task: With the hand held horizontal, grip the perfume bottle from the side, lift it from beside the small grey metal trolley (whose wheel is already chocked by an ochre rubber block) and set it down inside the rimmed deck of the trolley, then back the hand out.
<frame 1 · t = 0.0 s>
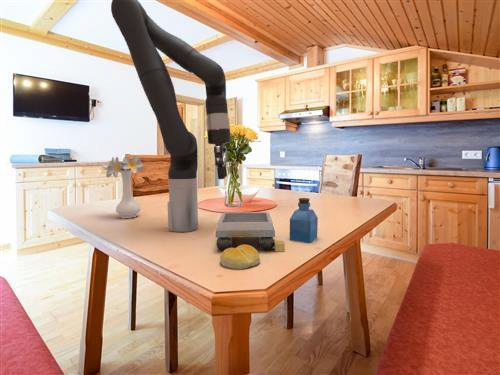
hand: (222, 178, 96), 17 cm above the table, tool pointing down, fingers open, 8 cm apart
flower vase: (126, 217, 117), on the table
bread roll: (240, 263, 67), on the table
perfume bottle: (303, 239, 85), on the table
trolley: (245, 243, 81), on the table
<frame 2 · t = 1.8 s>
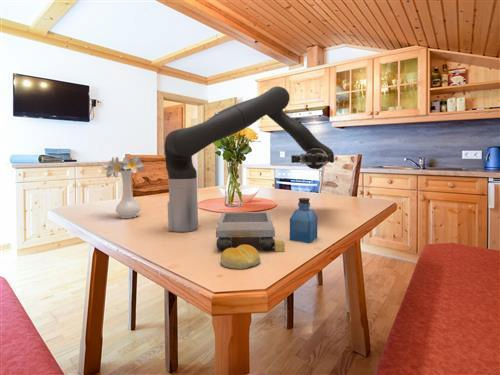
hand: (310, 159, 93), 23 cm above the table, tool horizontal, fingers open, 8 cm apart
nothing on the table moved.
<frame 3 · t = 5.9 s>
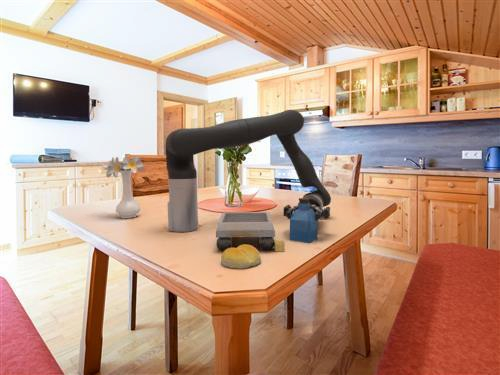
hand: (302, 216, 82), 7 cm above the table, tool horizontal, fingers closed on perfume bottle, 7 cm apart
perfume bottle: (303, 239, 85), on the table, touching gripper
everything else where it was.
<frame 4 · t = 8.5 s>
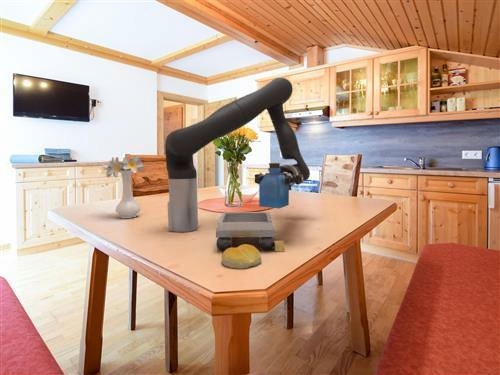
hand: (272, 180, 79), 18 cm above the table, tool horizontal, fingers closed on perfume bottle, 7 cm apart
perfume bottle: (274, 206, 82), point 10 cm above the table, touching gripper
everything else where it was.
when the fingers open (13 cm above the table, at t = 10.8 s): perfume bottle stays where it is, resting on trolley.
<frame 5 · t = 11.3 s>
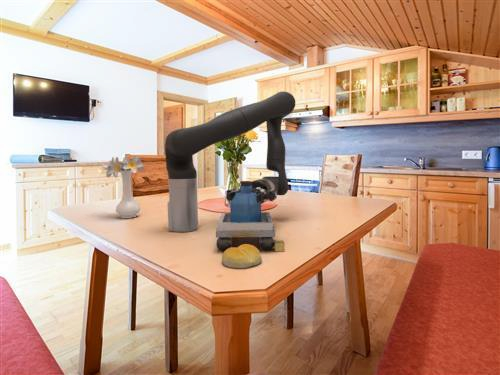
hand: (242, 197, 78), 13 cm above the table, tool horizontal, fingers open, 8 cm apart
perfume bottle: (246, 224, 80), point 5 cm above the table, touching trolley
everything else where it was.
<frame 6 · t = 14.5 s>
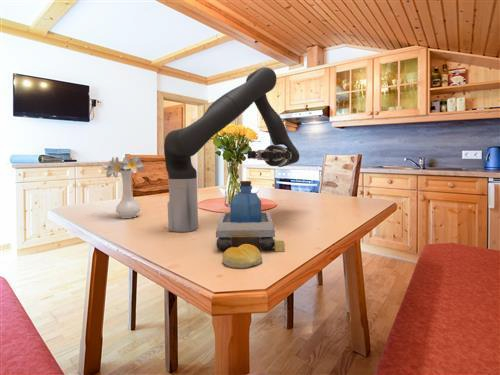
hand: (263, 154, 90), 25 cm above the table, tool horizontal, fingers open, 8 cm apart
nothing on the table moved.
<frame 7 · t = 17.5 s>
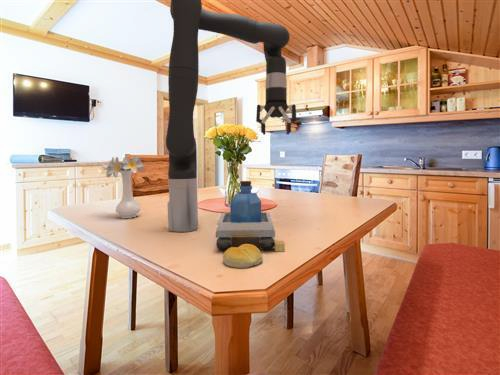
hand: (276, 134, 104), 32 cm above the table, tool pointing down, fingers open, 8 cm apart
nothing on the table moved.
at the end: perfume bottle inside the target area on the trolley (0.1 cm from its centre), point 5.3 cm above the trolley's base; perfume bottle tilted 0°; the gripper is holding nothing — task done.
